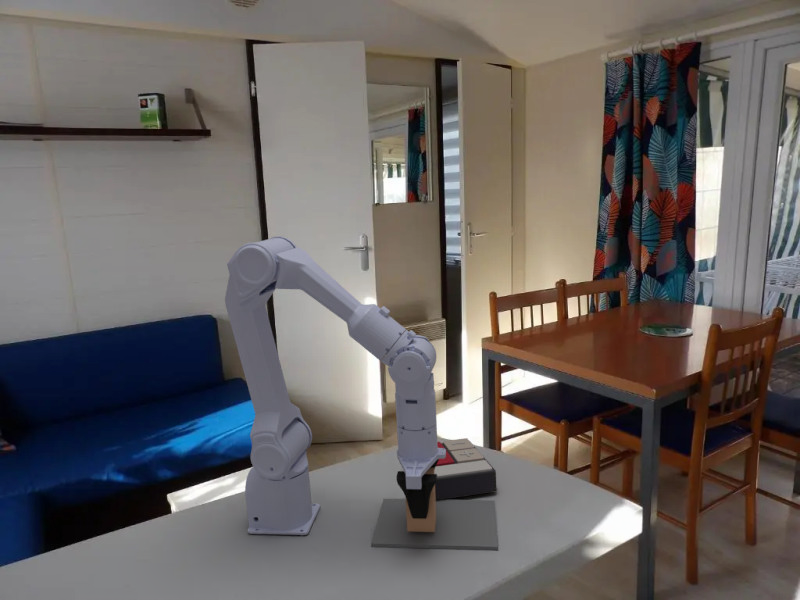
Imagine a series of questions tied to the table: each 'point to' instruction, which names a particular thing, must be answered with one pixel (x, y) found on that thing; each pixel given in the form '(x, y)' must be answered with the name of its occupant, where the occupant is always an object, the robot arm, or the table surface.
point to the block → (430, 521)
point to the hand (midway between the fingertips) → (420, 508)
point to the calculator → (463, 471)
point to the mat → (439, 526)
